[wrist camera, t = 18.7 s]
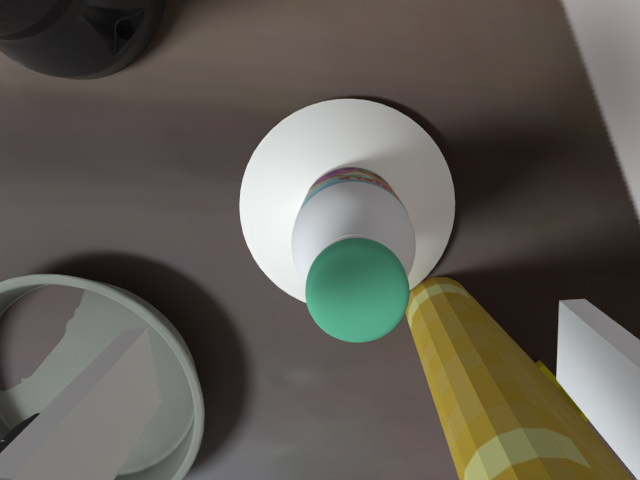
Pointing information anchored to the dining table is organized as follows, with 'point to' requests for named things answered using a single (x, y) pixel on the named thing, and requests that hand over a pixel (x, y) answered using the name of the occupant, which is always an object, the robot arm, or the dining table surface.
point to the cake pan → (87, 344)
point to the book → (499, 396)
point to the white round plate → (336, 150)
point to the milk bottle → (354, 253)
